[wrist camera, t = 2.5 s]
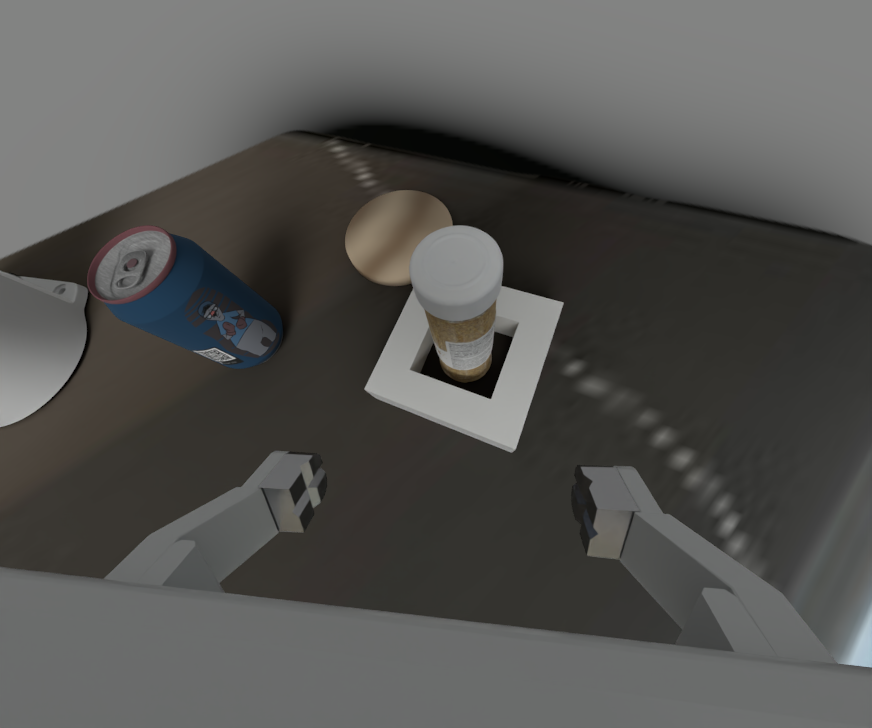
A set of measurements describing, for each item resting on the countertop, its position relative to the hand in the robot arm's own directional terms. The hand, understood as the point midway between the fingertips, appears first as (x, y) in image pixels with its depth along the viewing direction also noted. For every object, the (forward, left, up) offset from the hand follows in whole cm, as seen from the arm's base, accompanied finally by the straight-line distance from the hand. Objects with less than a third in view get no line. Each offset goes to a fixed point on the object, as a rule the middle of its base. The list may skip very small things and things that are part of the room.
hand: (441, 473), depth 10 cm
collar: (-3, +9, -15) cm, 18 cm away
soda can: (-23, +4, -15) cm, 28 cm away
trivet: (-14, +19, -15) cm, 28 cm away
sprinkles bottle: (-3, +9, -15) cm, 18 cm away
